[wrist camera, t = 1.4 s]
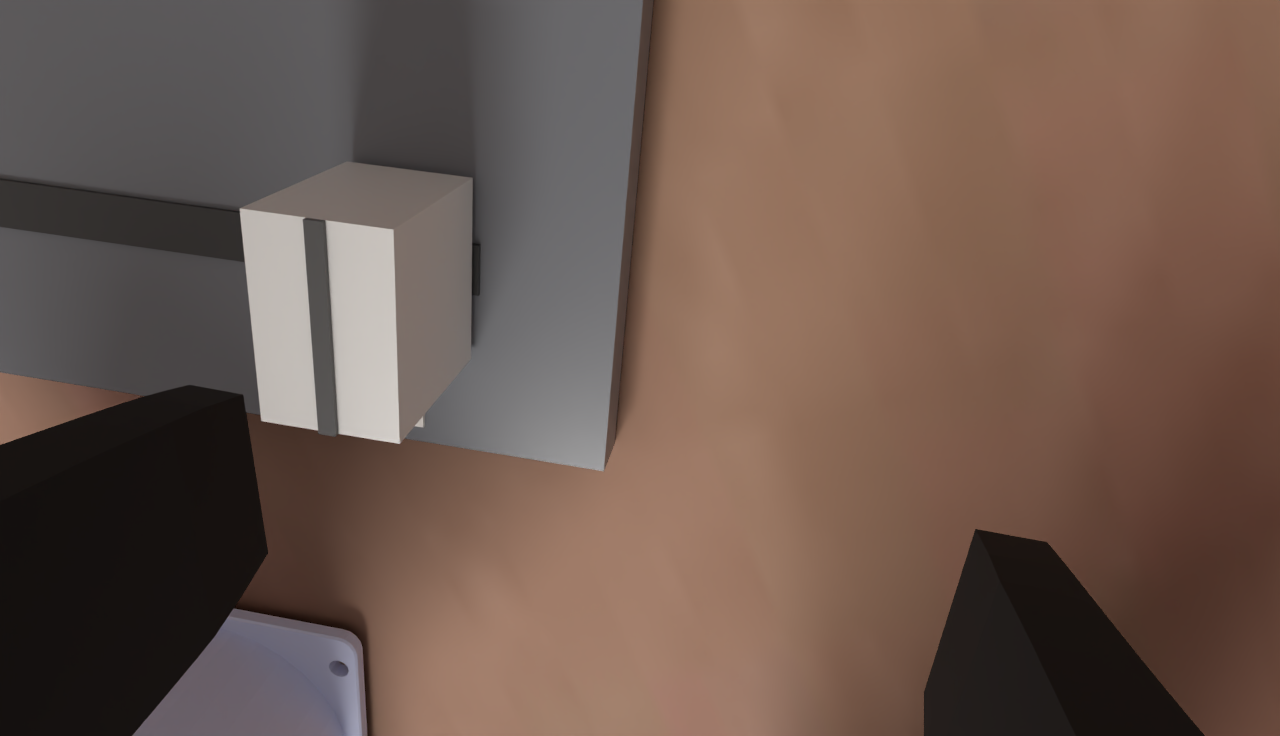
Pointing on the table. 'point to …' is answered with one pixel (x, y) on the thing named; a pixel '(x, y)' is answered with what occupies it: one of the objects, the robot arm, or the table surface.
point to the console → (303, 147)
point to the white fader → (359, 297)
